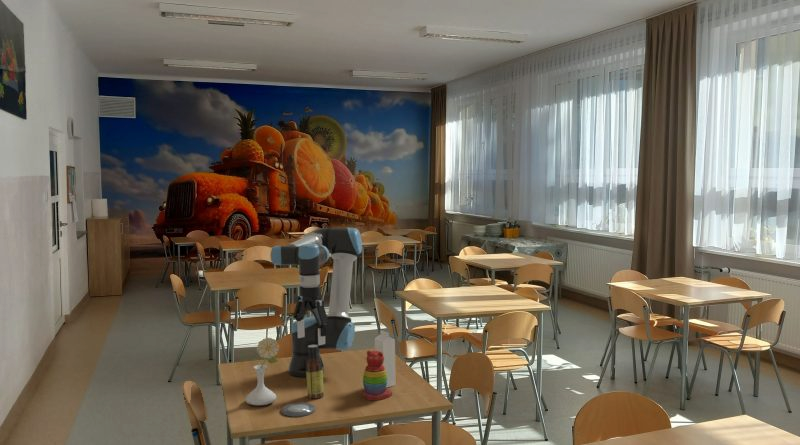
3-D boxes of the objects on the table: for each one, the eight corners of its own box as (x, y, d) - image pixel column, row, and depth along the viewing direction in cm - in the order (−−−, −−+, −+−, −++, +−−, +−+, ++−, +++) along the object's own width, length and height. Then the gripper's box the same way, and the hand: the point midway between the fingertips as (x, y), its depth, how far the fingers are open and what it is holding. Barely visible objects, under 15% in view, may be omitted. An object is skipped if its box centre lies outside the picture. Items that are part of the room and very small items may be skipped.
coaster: (275, 410, 232) (275, 408, 232) (302, 402, 240) (302, 399, 240) (293, 419, 223) (293, 417, 223) (321, 410, 231) (321, 408, 231)
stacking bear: (394, 394, 248) (393, 349, 247) (382, 402, 239) (381, 355, 238) (369, 390, 253) (369, 345, 251) (357, 398, 244) (356, 352, 242)
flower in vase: (241, 408, 235) (239, 341, 233) (250, 397, 246) (248, 333, 244) (276, 408, 234) (275, 341, 232) (284, 397, 245) (282, 333, 243)
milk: (383, 388, 254) (382, 334, 252) (374, 384, 259) (373, 331, 257) (395, 385, 258) (395, 331, 256) (387, 381, 263) (386, 328, 261)
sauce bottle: (326, 394, 248) (325, 344, 246) (319, 400, 242) (318, 348, 241) (311, 392, 250) (310, 343, 249) (303, 398, 244) (302, 347, 243)
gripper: (283, 282, 246) (284, 336, 248) (320, 291, 228) (322, 349, 230) (299, 279, 251) (301, 332, 253) (337, 288, 233) (339, 345, 235)
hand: (311, 340), depth 242 cm, fingers open, 13 cm apart
